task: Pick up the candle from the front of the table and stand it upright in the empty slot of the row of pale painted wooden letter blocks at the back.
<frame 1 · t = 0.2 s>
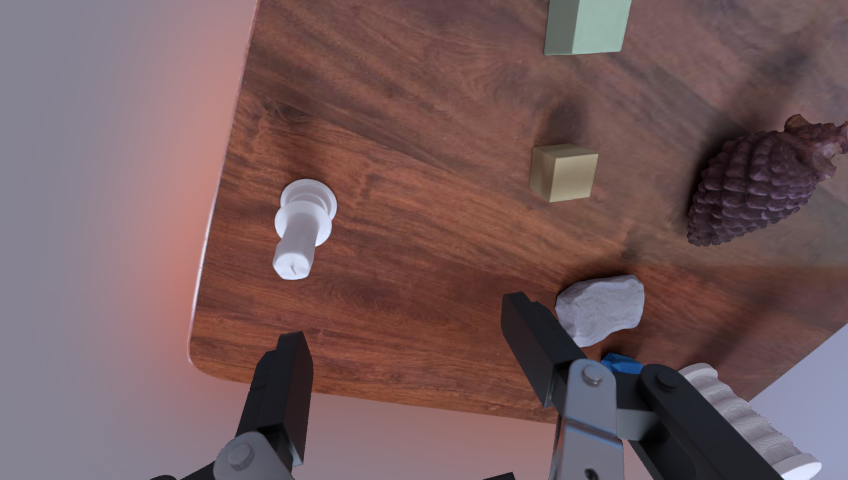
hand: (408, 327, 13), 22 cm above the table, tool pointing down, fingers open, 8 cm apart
block 3: (549, 165, 36), on the table
crystal: (614, 360, 57), on the table
pine cone: (710, 175, 41), on the table
candle: (309, 203, 33), on the table
decorative container: (684, 382, 66), on the table
block 2: (569, 25, 29), on the table
stone block: (591, 297, 48), on the table
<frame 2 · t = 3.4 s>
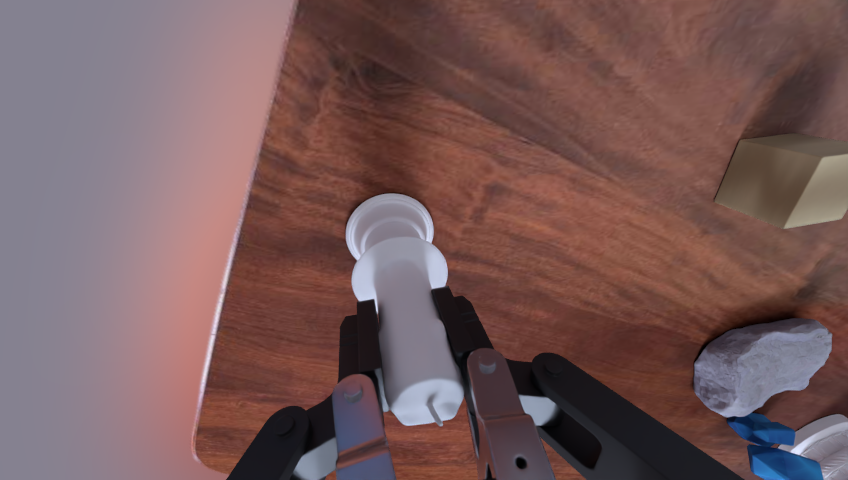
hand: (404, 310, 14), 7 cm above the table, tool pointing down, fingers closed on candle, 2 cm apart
block 3: (752, 168, 23), on the table
crystal: (740, 417, 44), on the table
candle: (390, 232, 20), on the table, touching gripper
decorative container: (807, 435, 53), on the table
stone block: (741, 346, 35), on the table
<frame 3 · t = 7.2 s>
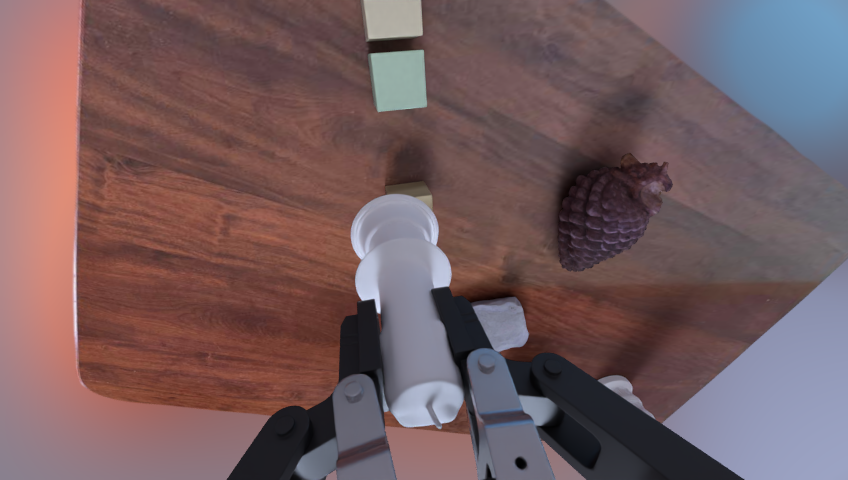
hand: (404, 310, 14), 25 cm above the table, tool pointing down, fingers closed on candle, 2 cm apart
block 3: (406, 201, 38), on the table
pine cone: (577, 205, 44), on the table
candle: (395, 232, 20), point 18 cm above the table, touching gripper
block 1: (387, 10, 29), on the table
decorative container: (601, 393, 68), on the table
block 2: (393, 78, 32), on the table
stone block: (482, 317, 50), on the table
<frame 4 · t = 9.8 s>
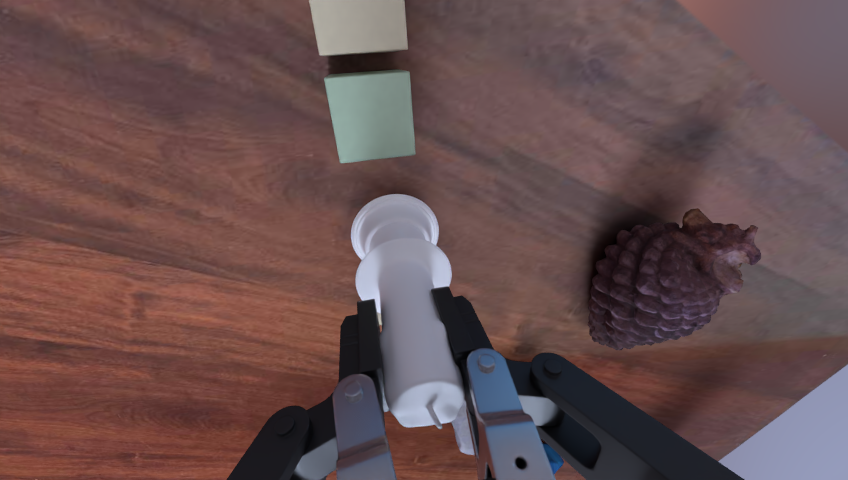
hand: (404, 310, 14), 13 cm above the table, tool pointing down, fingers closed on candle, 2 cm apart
crystal: (534, 447, 49), on the table
pine cone: (613, 262, 34), on the table
candle: (395, 232, 20), point 6 cm above the table, touching gripper
block 1: (356, 10, 19), on the table
block 2: (369, 109, 22), on the table
stone block: (488, 392, 40), on the table
when the fingers open (7 cm above the table, at t = 11.5 s): candle stays where it is, on the table.
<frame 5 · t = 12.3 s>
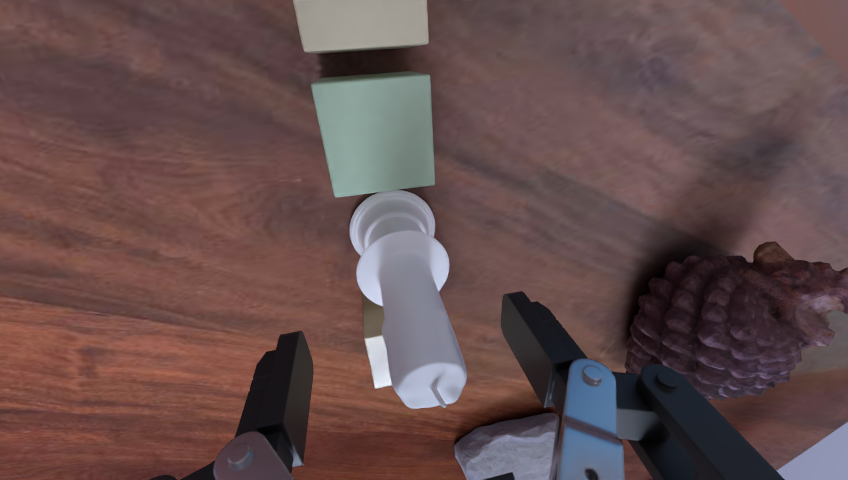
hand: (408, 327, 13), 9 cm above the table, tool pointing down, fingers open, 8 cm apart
block 3: (397, 309, 24), on the table
pine cone: (656, 295, 29), on the table
candle: (392, 227, 21), on the table
block 2: (372, 121, 17), on the table
stone block: (506, 436, 36), on the table
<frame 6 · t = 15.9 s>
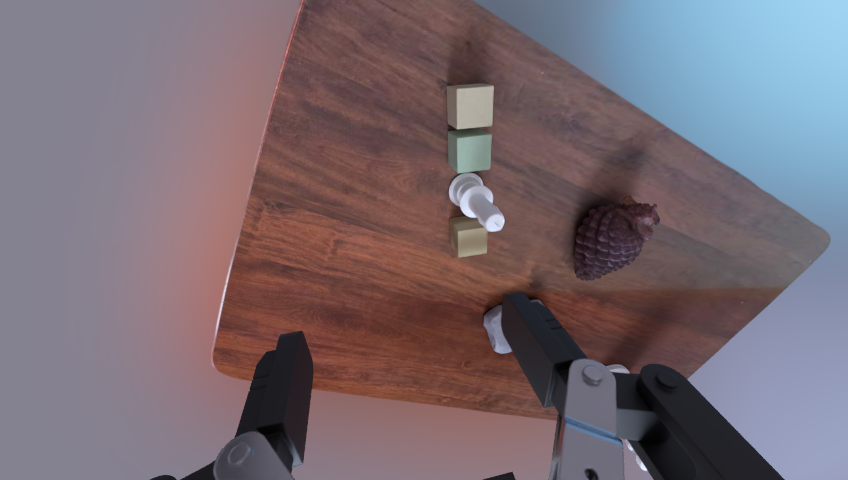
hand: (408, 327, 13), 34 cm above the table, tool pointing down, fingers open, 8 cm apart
block 3: (463, 228, 51), on the table
pine cone: (589, 229, 57), on the table
candle: (465, 189, 48), on the table
block 1: (463, 103, 42), on the table
block 2: (463, 146, 45), on the table
stone block: (512, 315, 63), on the table
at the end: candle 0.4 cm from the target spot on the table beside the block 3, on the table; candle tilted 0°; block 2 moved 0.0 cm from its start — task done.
